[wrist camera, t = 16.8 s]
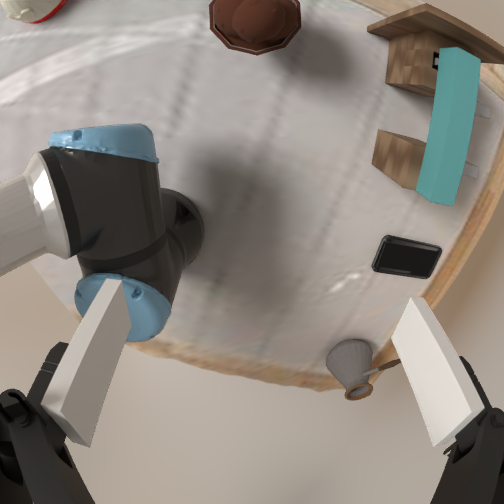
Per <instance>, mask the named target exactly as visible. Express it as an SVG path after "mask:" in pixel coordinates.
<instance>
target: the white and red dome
mask: <svg viewBox="0 0 504 504" xmlns="http://www.w3.org/2000/svg"><path fill="white" fill-rule="evenodd" d="M0 1H1V4H2V6H3V8H4V9H5V10H6V12H7V13H8V16H7V17H9V18H12V19H15V20H19V21H22V22H25V23H39V22H42V21H45V20H46V19H48V18H50V17H51V16H53V15H54V14H55V13H56V12H57V11H58V10H59V9H61V8H62V6H63V5H64V4H65V3H66V1H67V0H0Z"/></svg>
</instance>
